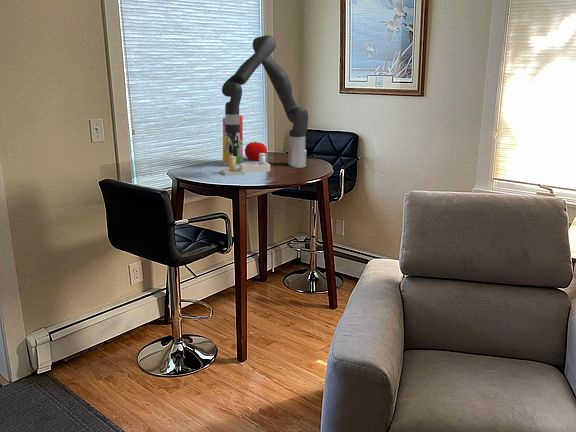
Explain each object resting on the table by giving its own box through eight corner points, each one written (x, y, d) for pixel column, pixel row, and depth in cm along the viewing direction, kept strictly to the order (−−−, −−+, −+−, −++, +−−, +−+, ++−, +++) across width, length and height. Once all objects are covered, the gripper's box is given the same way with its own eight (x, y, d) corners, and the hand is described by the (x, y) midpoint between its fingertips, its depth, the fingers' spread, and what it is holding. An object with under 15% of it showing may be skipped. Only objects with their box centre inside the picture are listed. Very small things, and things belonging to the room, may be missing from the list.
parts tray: (239, 172, 286) (239, 168, 286) (244, 176, 277) (244, 171, 277) (221, 173, 283) (221, 168, 283) (225, 177, 274) (225, 172, 274)
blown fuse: (235, 172, 282) (234, 155, 280) (236, 173, 279) (235, 156, 277) (228, 173, 281) (227, 156, 279) (230, 174, 278) (229, 157, 276)
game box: (232, 168, 297) (232, 118, 289) (222, 168, 298) (222, 118, 290) (242, 162, 316) (242, 115, 309) (233, 161, 317) (233, 114, 310)
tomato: (242, 158, 327) (242, 140, 323) (262, 157, 332) (262, 139, 329) (249, 162, 316) (249, 143, 313) (269, 161, 322) (270, 142, 319)
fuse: (264, 169, 291) (264, 152, 289) (265, 170, 288) (266, 154, 286) (258, 169, 290) (258, 153, 288) (259, 171, 287) (260, 154, 284)
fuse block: (266, 170, 294) (266, 162, 292) (270, 173, 287) (270, 164, 286) (239, 171, 289) (239, 163, 288) (242, 174, 283) (242, 165, 281)
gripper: (243, 124, 268) (243, 157, 272) (236, 121, 280) (236, 152, 285) (228, 124, 265) (228, 157, 270) (222, 121, 278) (222, 152, 283)
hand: (232, 154), depth 277 cm, fingers open, 8 cm apart
